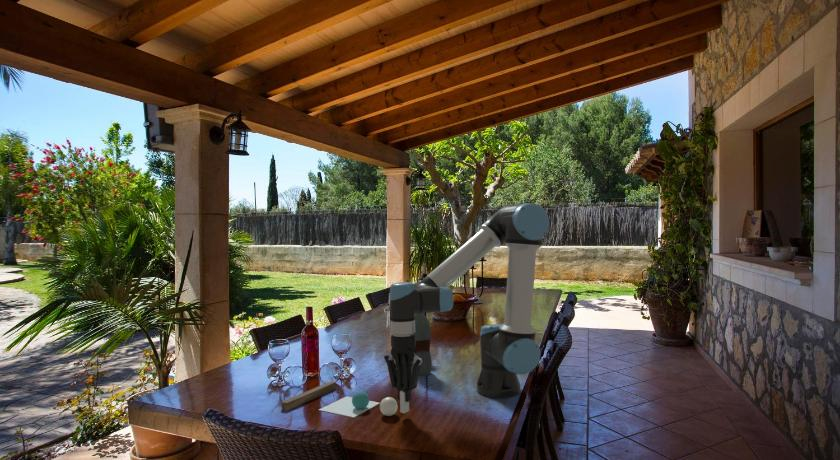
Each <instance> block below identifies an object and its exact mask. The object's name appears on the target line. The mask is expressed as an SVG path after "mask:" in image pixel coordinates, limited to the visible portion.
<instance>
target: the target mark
mask: <svg viewBox="0 0 840 460" xmlns="http://www.w3.org/2000/svg"><path fill="white" fill-rule="evenodd" d="M352 397H353V396H347V395H346V396H344V397H342V398H340V399H338V400H335V401H334V402H332V403H329V404H328V405H325V406H323V407H322V408H319V409H318V411H321V412H326V413H330V414H335V415H338V416H339V415H340V416H344V417H347V418H356V417H358V416H360V415H362V414H363V413H365V412H367V411H369V410H372V409H373V408H374V407H376V406H378V405H380V403H381V402H377V401H373V400H369V403H368V405H367V407H366V408H364V409H357V408H355V407H354V406H353V404H352Z"/></svg>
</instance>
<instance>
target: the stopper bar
mask: <svg viewBox="0 0 840 460" xmlns="http://www.w3.org/2000/svg"><path fill="white" fill-rule="evenodd" d="M336 387H337V383H336V381H328V382H325V383H323V384H321V385H318V386H316V387H314V388H311V389H309V390H306V391H304V392H301V393H299V394H297V395H294V396H293V397H289V398H288V399H286V400H283V401H281V410H282V411H286V412H287V411H290V410H293V409H294V408H297V407H299V406H301V405H304V404H306V403H307V402H310V401H312V400H315V399H317V398H319V397H321V396H324V395H326V394H328V393H331V392H333V391H335V390H336V389H337V388H336Z"/></svg>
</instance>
